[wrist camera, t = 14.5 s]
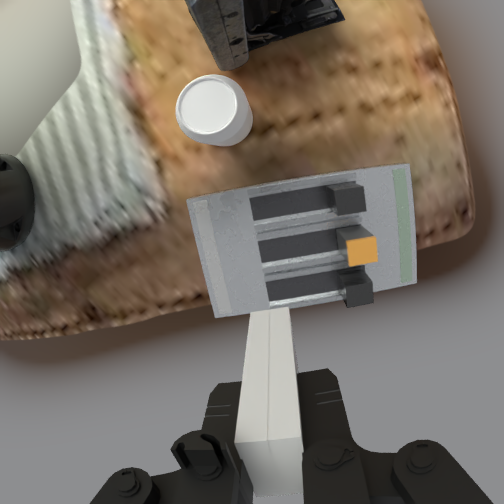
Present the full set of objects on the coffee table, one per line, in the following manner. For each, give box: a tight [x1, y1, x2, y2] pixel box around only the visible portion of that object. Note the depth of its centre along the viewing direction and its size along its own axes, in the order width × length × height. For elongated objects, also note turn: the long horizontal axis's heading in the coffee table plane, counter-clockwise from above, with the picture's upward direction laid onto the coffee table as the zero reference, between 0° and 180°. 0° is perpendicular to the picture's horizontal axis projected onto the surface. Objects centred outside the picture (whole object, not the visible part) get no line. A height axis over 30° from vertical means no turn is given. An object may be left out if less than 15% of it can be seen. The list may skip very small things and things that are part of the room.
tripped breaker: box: [336, 225, 378, 266], centre depth 33 cm, size 3×2×6 cm
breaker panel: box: [186, 163, 417, 318], centre depth 35 cm, size 26×15×7 cm, turn 101°
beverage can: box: [176, 74, 253, 146], centre depth 29 cm, size 6×6×12 cm
